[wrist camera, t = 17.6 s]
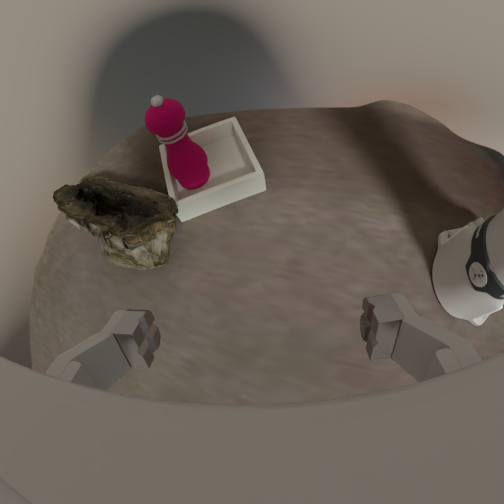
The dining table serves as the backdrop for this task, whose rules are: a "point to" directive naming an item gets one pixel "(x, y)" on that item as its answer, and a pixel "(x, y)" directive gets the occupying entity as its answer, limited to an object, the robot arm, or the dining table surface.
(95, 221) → the hollow geode rock
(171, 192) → the tray
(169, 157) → the pepper mill
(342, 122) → the dining table surface
